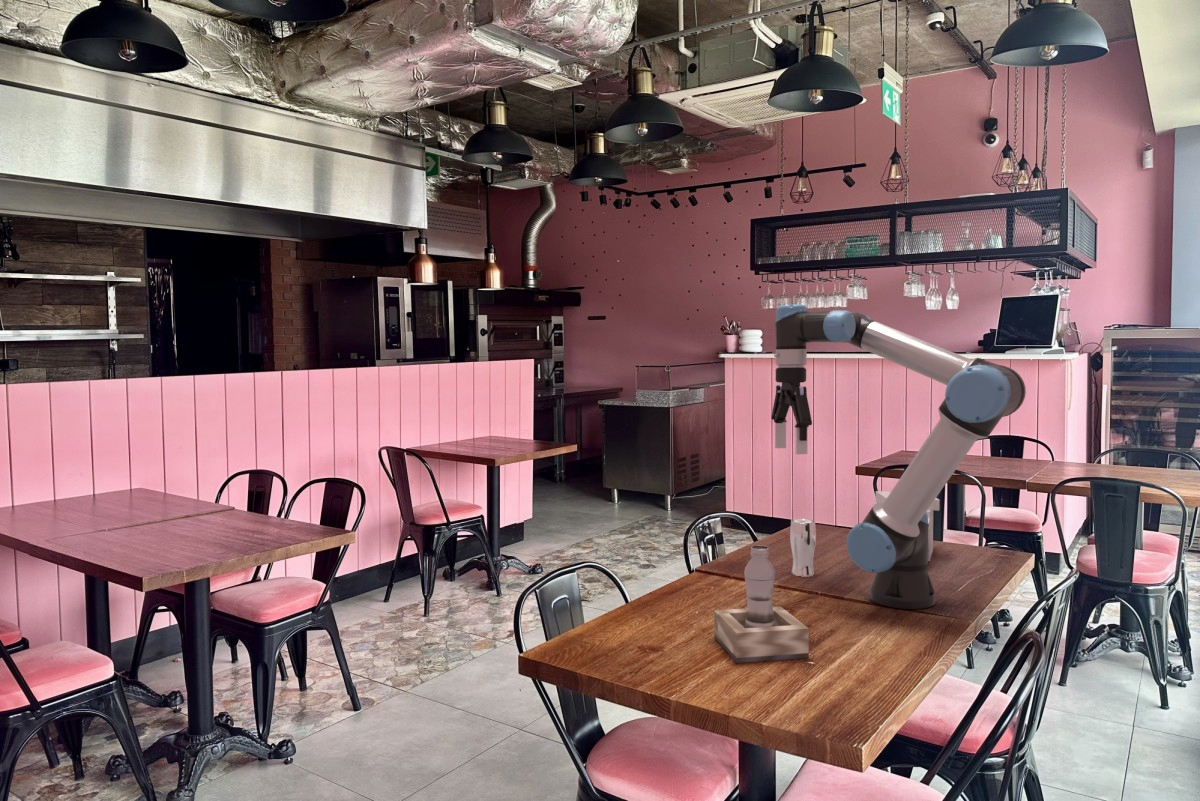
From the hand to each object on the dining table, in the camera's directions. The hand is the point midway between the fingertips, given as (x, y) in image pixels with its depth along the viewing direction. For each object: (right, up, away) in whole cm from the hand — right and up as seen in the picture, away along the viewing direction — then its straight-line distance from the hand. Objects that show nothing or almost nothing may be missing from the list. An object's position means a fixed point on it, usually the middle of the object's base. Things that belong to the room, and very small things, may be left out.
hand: (790, 451), depth 208 cm
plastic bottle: (-15, -38, -36) cm, 54 cm away
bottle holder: (-15, -39, -36) cm, 55 cm away
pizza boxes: (+43, -35, +39) cm, 68 cm away
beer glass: (+8, -36, +21) cm, 43 cm away
